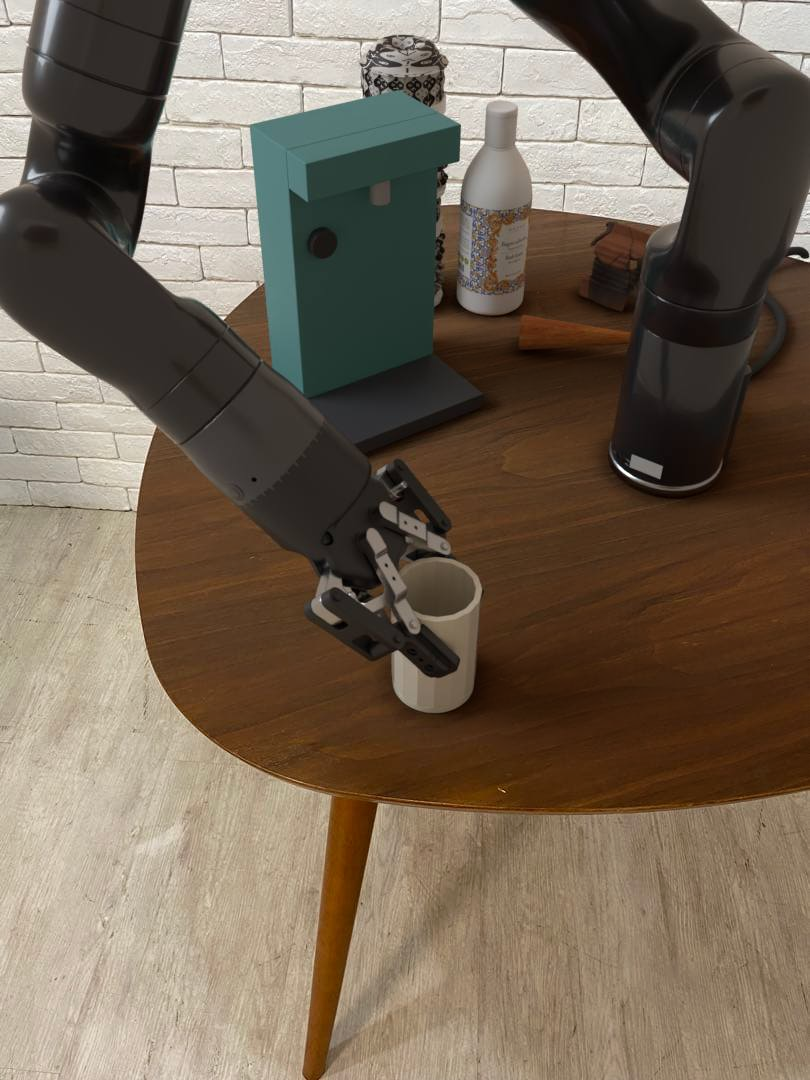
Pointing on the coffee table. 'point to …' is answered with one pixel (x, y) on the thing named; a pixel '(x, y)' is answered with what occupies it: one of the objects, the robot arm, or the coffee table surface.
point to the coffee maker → (358, 262)
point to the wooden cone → (565, 334)
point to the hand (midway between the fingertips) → (461, 634)
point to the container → (440, 632)
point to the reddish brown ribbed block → (615, 266)
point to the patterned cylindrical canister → (422, 78)
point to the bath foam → (494, 219)
